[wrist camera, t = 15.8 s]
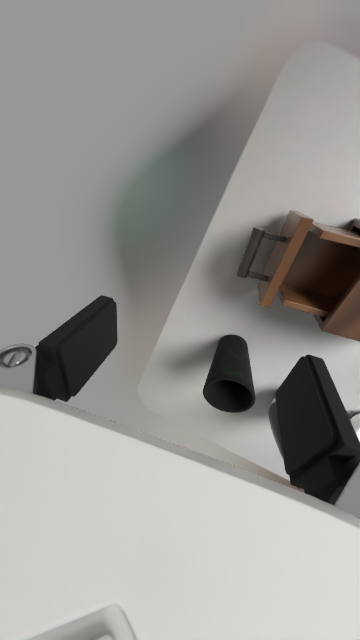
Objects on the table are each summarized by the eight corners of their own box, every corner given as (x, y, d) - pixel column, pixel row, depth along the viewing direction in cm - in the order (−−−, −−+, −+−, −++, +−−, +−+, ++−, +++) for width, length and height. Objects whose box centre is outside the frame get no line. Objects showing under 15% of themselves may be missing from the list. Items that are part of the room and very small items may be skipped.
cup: (260, 339, 38) (265, 392, 28) (242, 365, 42) (240, 419, 33) (221, 324, 38) (213, 371, 29) (207, 351, 43) (196, 400, 33)
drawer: (232, 277, 32) (230, 296, 27) (259, 203, 26) (262, 207, 21) (341, 307, 30) (362, 334, 25) (397, 234, 24) (441, 248, 19)
